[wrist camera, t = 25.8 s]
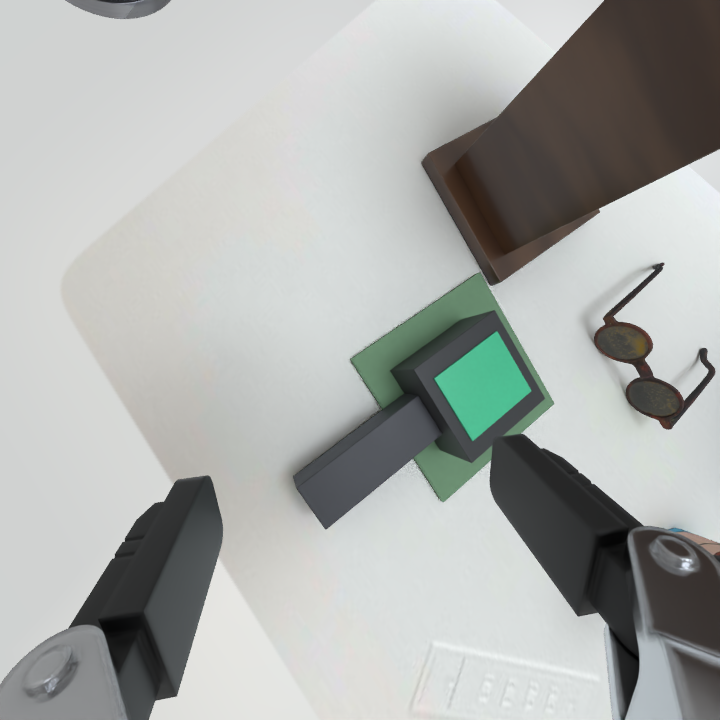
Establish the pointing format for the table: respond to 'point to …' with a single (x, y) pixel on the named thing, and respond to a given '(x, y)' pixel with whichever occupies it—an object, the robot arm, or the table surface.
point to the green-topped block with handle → (428, 414)
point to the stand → (586, 130)
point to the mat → (413, 335)
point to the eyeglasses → (645, 365)
